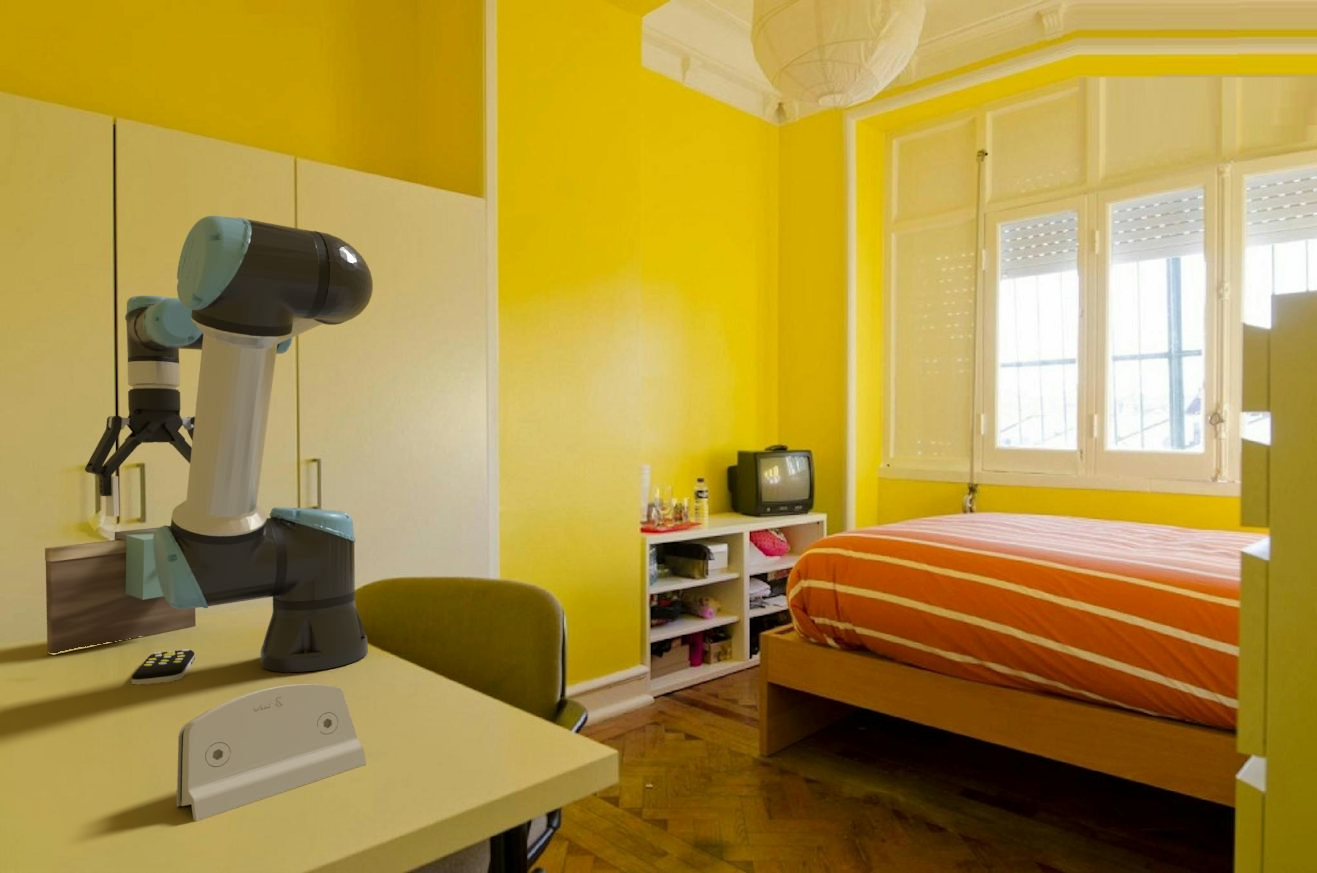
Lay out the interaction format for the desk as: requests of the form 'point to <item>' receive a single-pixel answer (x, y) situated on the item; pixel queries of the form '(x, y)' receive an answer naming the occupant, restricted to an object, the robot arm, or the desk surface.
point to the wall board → (100, 599)
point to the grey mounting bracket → (264, 747)
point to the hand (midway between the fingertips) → (157, 512)
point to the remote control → (164, 667)
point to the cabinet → (140, 563)
